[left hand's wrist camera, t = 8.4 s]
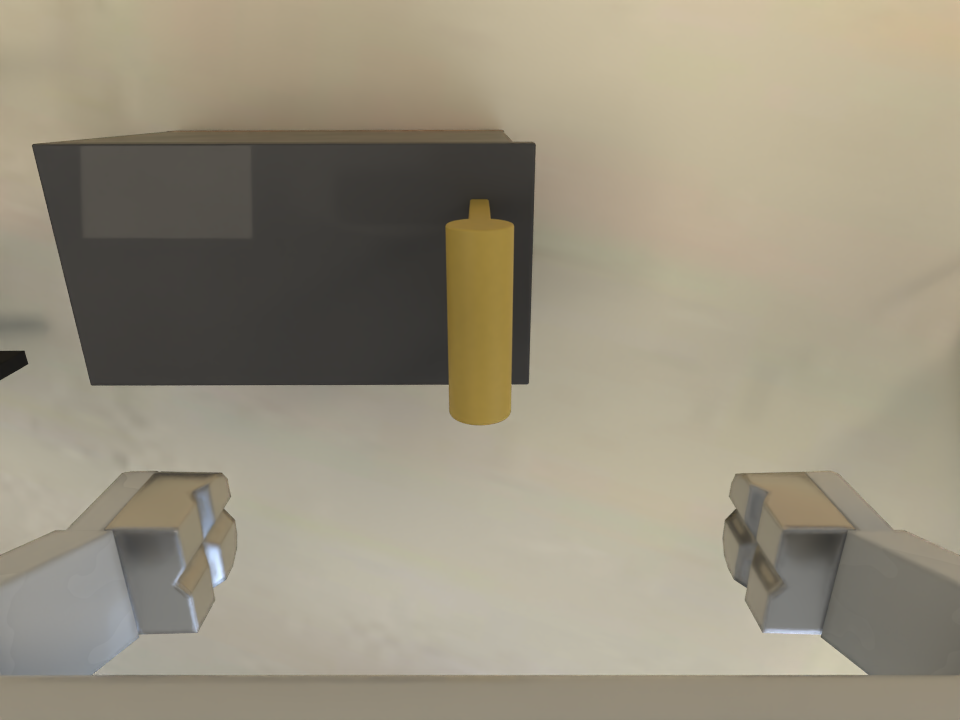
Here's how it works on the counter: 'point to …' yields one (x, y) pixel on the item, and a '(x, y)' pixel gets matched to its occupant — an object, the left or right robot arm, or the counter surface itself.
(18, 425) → the counter surface
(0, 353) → the right robot arm
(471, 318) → the lid
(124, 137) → the chest
